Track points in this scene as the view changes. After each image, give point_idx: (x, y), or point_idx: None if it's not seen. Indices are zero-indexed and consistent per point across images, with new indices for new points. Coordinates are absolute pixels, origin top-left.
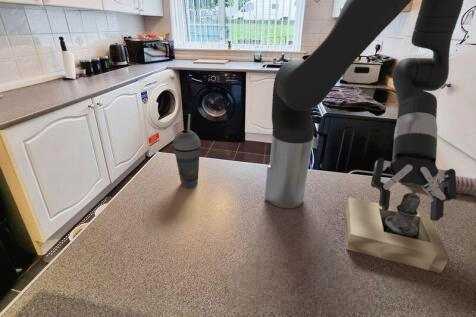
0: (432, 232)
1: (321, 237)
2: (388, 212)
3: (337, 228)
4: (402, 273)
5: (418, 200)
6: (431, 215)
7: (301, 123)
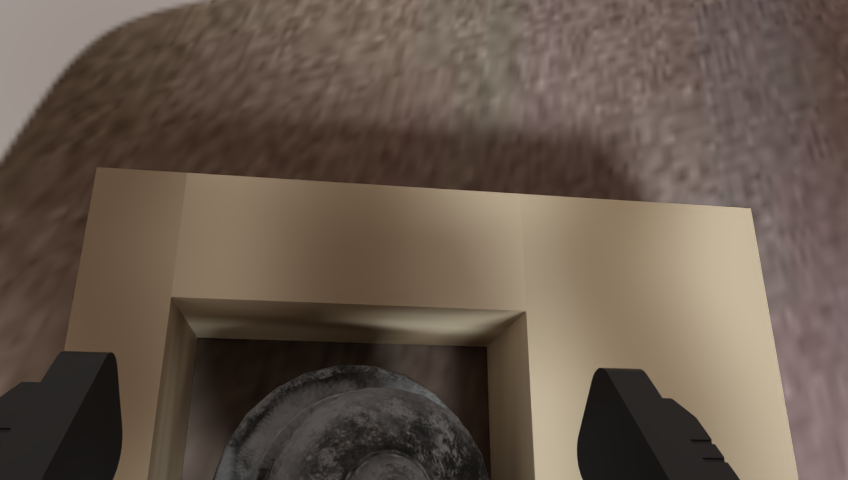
0: None
1: (828, 316)
2: None
3: None
4: (374, 167)
5: (320, 414)
6: (104, 470)
7: None
